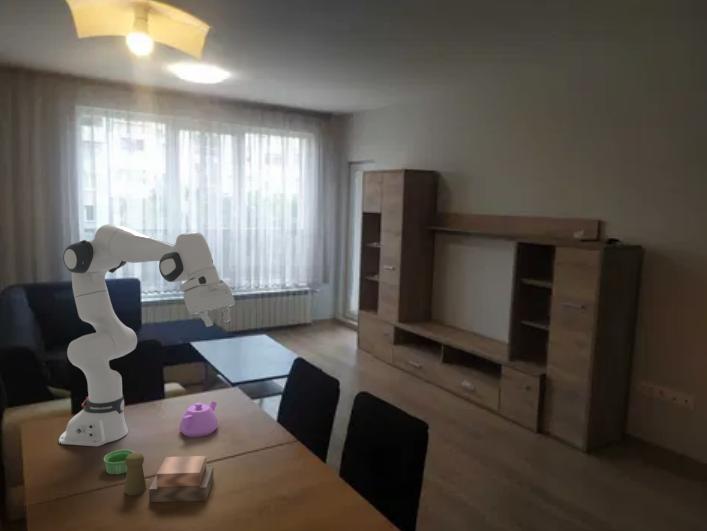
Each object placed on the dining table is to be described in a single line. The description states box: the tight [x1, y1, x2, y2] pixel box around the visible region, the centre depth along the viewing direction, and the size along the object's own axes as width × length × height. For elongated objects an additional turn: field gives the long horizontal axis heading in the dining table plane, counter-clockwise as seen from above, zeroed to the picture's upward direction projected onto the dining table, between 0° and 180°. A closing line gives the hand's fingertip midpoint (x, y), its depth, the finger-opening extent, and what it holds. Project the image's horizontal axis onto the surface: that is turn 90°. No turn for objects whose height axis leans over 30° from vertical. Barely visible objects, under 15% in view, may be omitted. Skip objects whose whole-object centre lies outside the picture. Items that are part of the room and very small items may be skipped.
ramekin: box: [103, 449, 135, 475], centre depth 164 cm, size 9×9×4 cm
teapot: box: [179, 400, 219, 438], centre depth 194 cm, size 14×20×11 cm
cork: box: [124, 452, 147, 496], centre depth 152 cm, size 6×6×11 cm
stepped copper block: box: [148, 455, 214, 503], centre depth 152 cm, size 16×12×8 cm
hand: (219, 323), depth 156 cm, fingers open, 8 cm apart
